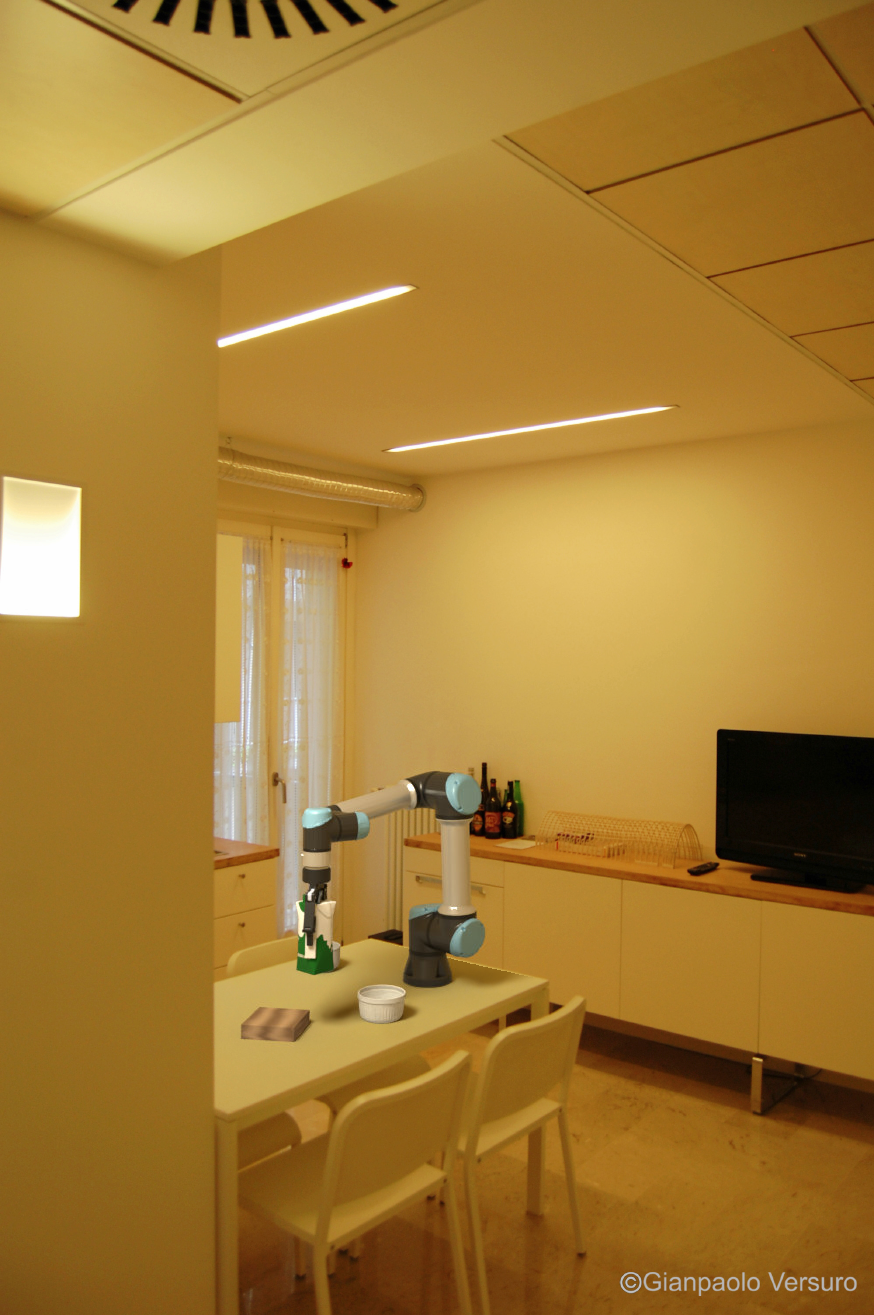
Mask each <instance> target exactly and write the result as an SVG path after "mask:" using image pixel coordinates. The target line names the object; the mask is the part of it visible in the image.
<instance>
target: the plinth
mask: <svg viewBox="0 0 874 1315" xmlns="http://www.w3.org/2000/svg"><path fill="white" fill-rule="evenodd" d="M310 1011H311V1010H310V1009H303V1008H302V1009H300V1008H282V1007H267V1006H266V1007H264V1006H263V1007H262V1006H259V1007H258V1008H257V1009H255V1011H254V1012H253V1013H252V1014H251V1015H249V1017H248V1018H246V1019H245V1020H244V1021H243V1022H242V1023H241V1025H240V1039H241V1040H254V1041H255V1040H256V1041H270V1042H282V1043H283V1042H287V1043H288V1042H289V1043H295V1041H296V1040H297V1039H298V1038H299V1036H300V1035H301V1034H303V1032H304V1031H305V1029H306V1028H307V1027H308V1026H309V1025H310V1023H311V1022H310V1017H311V1016H310V1015H311V1014H310V1013H311V1012H310Z"/></svg>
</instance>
